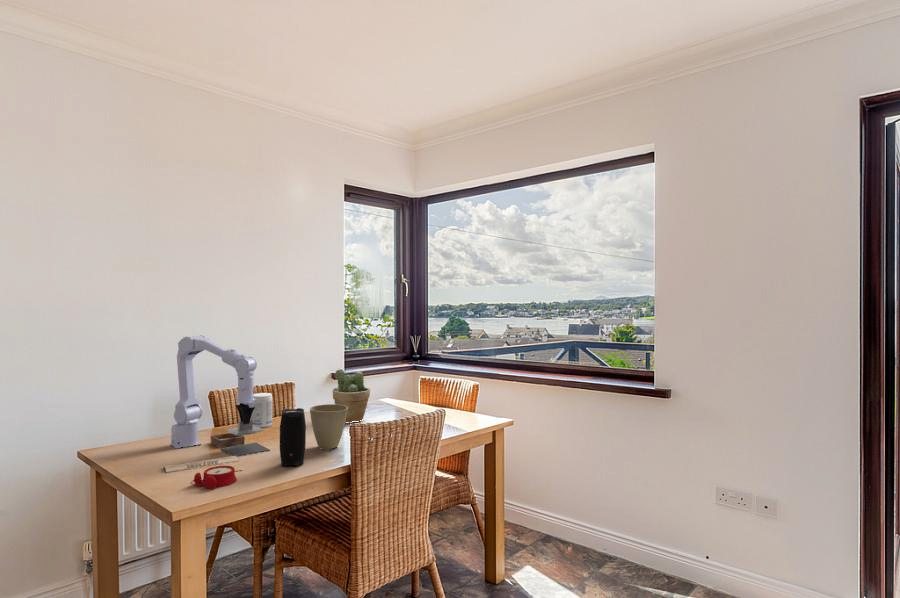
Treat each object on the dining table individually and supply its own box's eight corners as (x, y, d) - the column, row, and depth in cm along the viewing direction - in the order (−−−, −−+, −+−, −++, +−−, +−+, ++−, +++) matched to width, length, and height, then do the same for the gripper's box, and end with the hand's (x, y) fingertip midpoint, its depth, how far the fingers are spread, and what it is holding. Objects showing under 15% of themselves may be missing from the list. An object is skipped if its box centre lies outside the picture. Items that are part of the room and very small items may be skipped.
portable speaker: (298, 469, 189) (298, 413, 189) (274, 466, 191) (274, 411, 191) (310, 461, 198) (310, 408, 198) (286, 459, 200) (287, 406, 200)
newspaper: (234, 459, 202) (234, 454, 202) (239, 464, 196) (239, 459, 196) (163, 470, 188) (163, 465, 188) (166, 476, 183) (166, 470, 183)
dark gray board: (233, 457, 202) (233, 456, 202) (220, 449, 213) (220, 448, 213) (269, 450, 212) (269, 449, 212) (256, 443, 222) (256, 442, 222)
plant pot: (304, 452, 210) (305, 411, 210) (315, 442, 225) (315, 403, 225) (342, 453, 210) (343, 411, 210) (350, 443, 224) (351, 404, 225)
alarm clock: (246, 468, 178) (207, 470, 165) (242, 488, 177) (203, 491, 164) (225, 463, 183) (185, 464, 170) (221, 482, 182) (181, 485, 169)
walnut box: (219, 448, 214) (219, 440, 214) (210, 443, 222) (211, 435, 222) (244, 443, 221) (244, 436, 221) (235, 439, 229) (235, 432, 229)
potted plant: (371, 416, 275) (372, 367, 275) (368, 425, 257) (368, 372, 257) (335, 417, 274) (335, 367, 274) (329, 425, 256) (329, 372, 256)
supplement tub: (267, 422, 260) (268, 392, 260) (275, 426, 253) (275, 394, 253) (247, 425, 254) (247, 394, 254) (254, 429, 246) (255, 396, 246)
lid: (236, 437, 205) (236, 425, 205) (227, 432, 213) (227, 421, 213) (263, 433, 212) (263, 421, 212) (253, 428, 220) (253, 417, 220)
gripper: (263, 389, 210) (262, 424, 210) (248, 385, 221) (248, 418, 221) (244, 391, 205) (244, 427, 205) (231, 387, 216) (230, 421, 216)
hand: (245, 423), depth 213 cm, fingers closed on lid
